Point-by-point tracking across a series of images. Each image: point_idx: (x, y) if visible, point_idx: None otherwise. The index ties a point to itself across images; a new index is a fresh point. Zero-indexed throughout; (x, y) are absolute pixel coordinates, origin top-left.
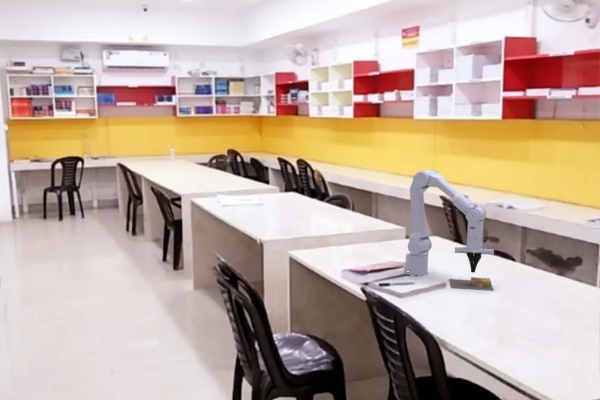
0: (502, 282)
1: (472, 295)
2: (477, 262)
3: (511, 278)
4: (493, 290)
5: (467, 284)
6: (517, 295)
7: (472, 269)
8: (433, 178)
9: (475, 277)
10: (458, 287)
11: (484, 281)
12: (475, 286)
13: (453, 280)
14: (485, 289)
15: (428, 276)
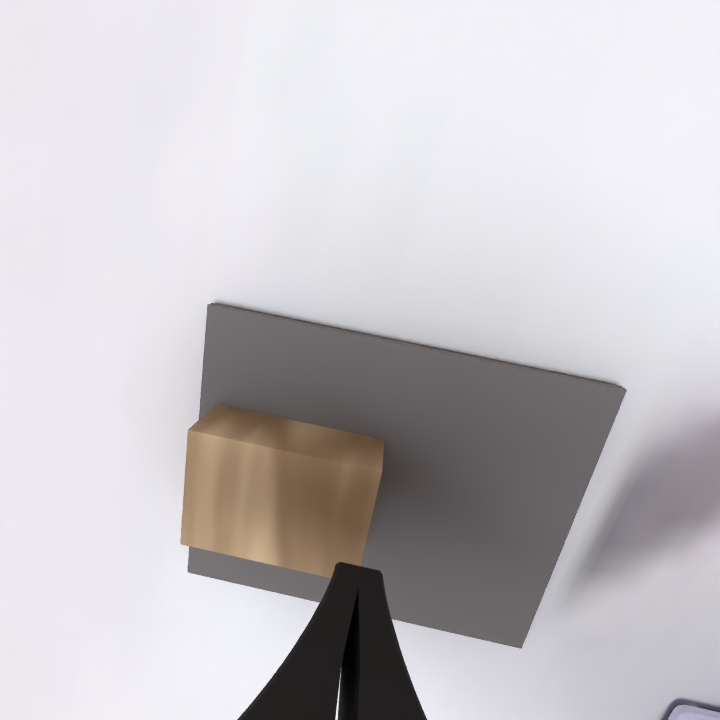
0: (94, 572)
1: (461, 186)
2: (276, 693)
3: (18, 653)
4: (211, 316)
5: (407, 500)
6: (16, 213)
7: (370, 596)
8: None
9: (315, 571)
10: (533, 409)
11: (256, 443)
12: (353, 434)
13: (496, 609)
14: (280, 348)
15: (677, 717)
